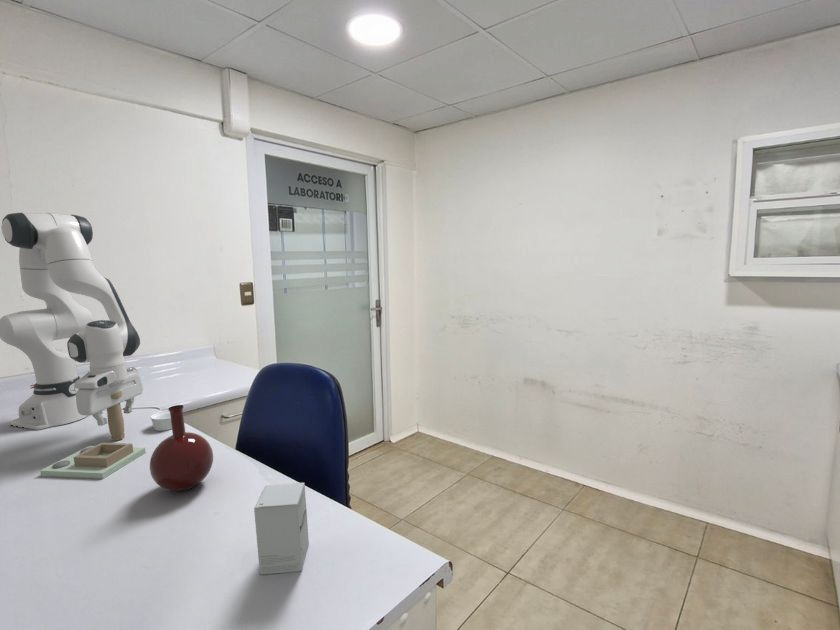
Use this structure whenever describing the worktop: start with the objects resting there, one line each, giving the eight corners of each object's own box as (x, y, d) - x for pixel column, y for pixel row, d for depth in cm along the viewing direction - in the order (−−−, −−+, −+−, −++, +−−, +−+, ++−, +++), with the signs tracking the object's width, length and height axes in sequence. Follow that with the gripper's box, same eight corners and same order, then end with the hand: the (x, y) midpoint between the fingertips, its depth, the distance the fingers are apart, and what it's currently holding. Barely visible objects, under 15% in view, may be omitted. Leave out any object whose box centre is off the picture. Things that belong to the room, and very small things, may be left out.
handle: (109, 444, 127) (102, 396, 125) (108, 438, 132) (101, 391, 130) (128, 440, 130) (122, 392, 128) (126, 433, 135) (120, 387, 133)
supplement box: (302, 572, 73) (297, 504, 72) (258, 575, 73) (252, 507, 71) (310, 543, 81) (305, 481, 79) (270, 546, 80) (264, 484, 78)
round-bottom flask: (150, 509, 93) (139, 422, 90) (155, 482, 105) (145, 404, 102) (217, 492, 99) (208, 410, 96) (214, 468, 111) (206, 394, 108)
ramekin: (182, 419, 146) (180, 407, 145) (184, 427, 139) (183, 414, 138) (151, 425, 141) (149, 413, 140) (152, 434, 134) (151, 421, 133)
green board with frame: (40, 476, 109) (38, 461, 109) (89, 450, 123) (87, 437, 123) (103, 478, 107) (101, 463, 107) (145, 452, 121) (143, 439, 120)
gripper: (127, 365, 138) (133, 406, 140) (68, 384, 118) (76, 432, 120) (145, 365, 138) (150, 406, 139) (88, 384, 117) (96, 432, 119)
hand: (115, 418), depth 130 cm, fingers open, 8 cm apart
